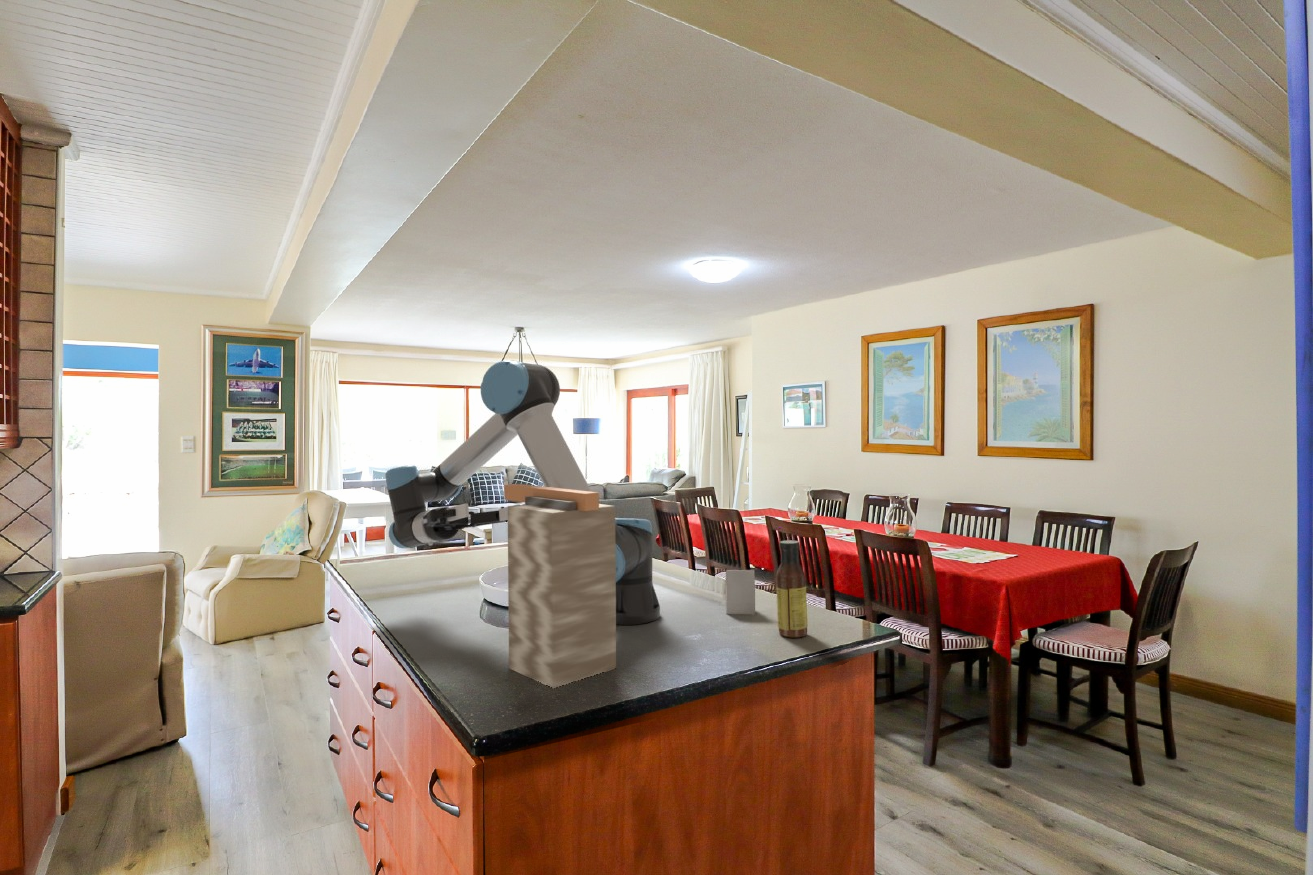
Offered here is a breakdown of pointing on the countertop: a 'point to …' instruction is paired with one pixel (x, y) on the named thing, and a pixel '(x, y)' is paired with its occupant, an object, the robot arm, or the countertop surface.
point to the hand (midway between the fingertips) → (494, 510)
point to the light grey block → (740, 592)
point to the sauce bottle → (791, 592)
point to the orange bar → (553, 495)
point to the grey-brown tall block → (561, 590)
